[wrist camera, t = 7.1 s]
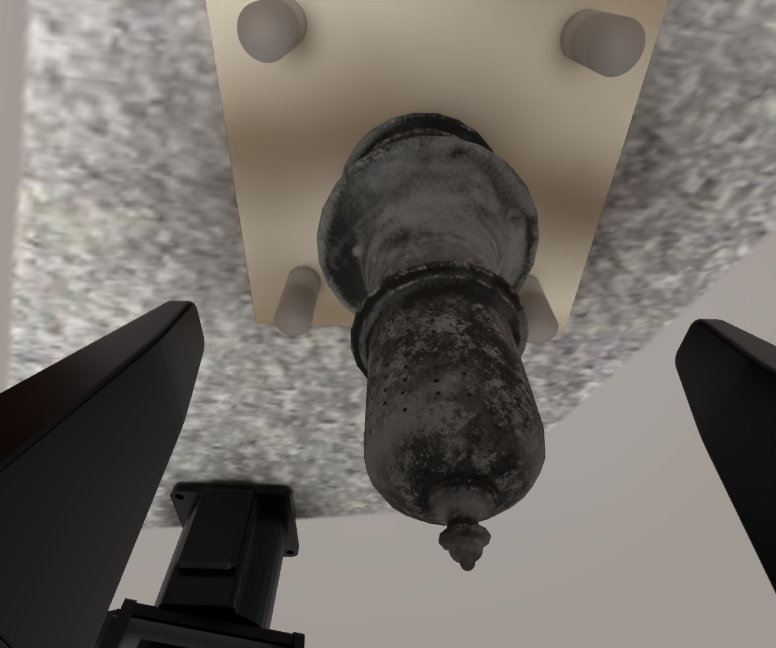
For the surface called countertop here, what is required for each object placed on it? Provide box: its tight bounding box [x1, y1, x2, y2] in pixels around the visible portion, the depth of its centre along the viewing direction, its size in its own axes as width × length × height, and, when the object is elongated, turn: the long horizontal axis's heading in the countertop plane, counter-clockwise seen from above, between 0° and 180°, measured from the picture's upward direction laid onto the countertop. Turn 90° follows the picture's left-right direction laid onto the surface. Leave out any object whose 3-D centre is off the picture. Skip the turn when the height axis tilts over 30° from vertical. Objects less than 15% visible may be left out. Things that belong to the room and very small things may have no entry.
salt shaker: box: [316, 113, 545, 571], centre depth 11 cm, size 6×6×12 cm
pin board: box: [206, 0, 669, 344], centre depth 15 cm, size 12×12×4 cm
